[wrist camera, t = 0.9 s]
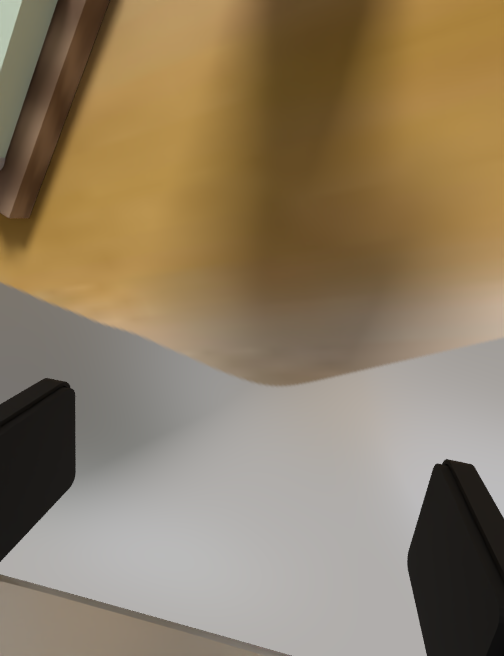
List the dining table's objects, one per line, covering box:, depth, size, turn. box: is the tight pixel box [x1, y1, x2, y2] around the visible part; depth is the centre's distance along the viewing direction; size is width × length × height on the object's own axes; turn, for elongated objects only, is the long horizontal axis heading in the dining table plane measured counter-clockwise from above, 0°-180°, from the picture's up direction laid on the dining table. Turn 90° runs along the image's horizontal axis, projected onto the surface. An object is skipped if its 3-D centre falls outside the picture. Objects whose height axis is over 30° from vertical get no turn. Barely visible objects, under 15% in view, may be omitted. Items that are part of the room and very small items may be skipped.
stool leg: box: [0, 0, 58, 170], centre depth 30 cm, size 16×3×3 cm, turn 149°
